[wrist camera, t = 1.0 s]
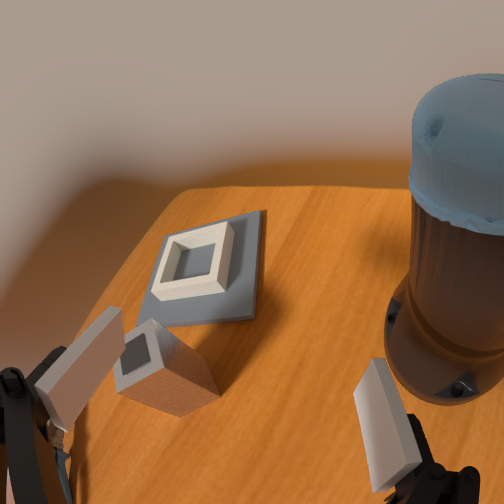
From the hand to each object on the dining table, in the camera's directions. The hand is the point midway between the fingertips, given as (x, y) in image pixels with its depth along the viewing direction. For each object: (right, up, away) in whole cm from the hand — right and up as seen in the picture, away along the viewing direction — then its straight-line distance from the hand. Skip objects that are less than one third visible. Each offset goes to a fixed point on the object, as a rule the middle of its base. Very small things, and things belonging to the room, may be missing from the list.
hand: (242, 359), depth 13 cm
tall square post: (-6, -10, +16) cm, 20 cm away
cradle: (-7, +3, +28) cm, 29 cm away
